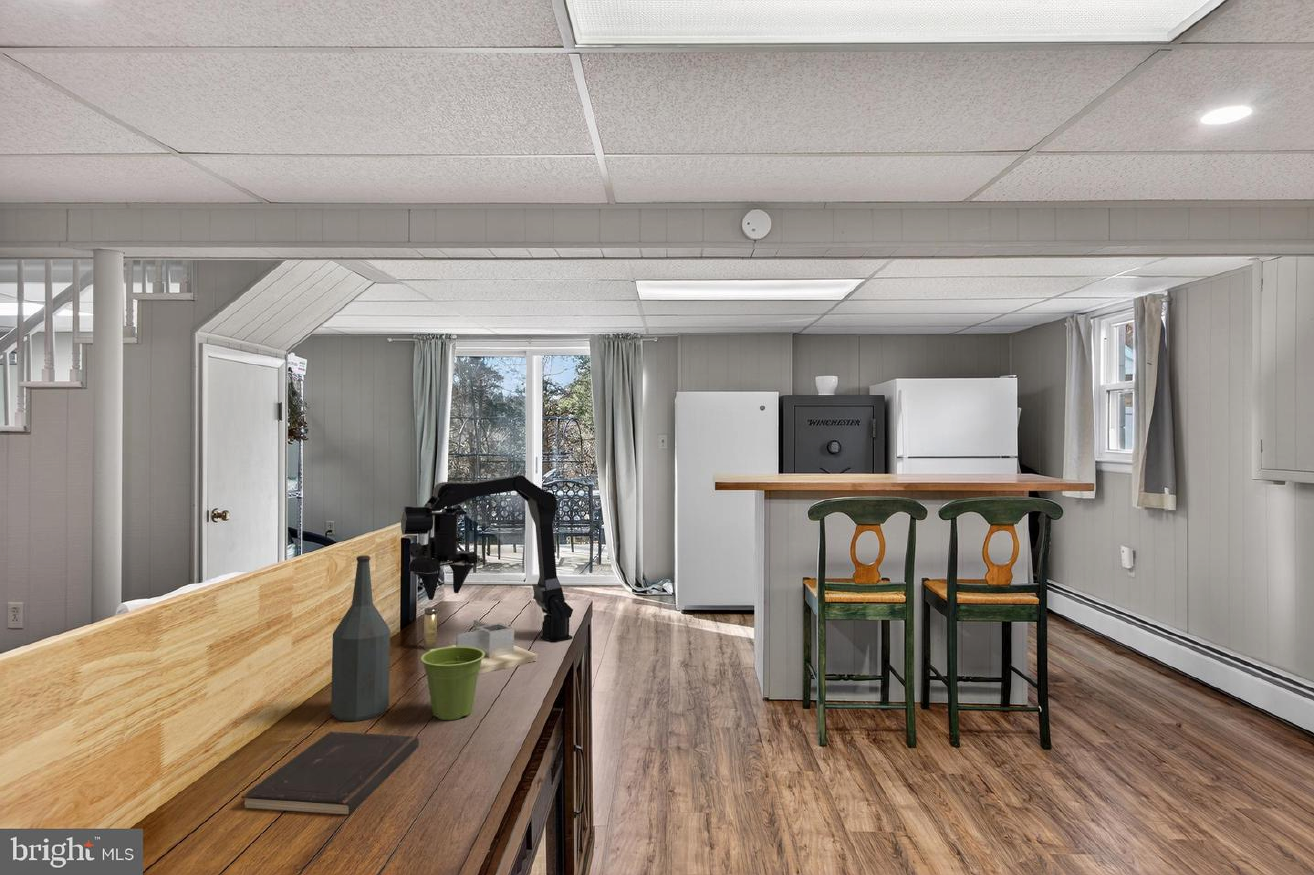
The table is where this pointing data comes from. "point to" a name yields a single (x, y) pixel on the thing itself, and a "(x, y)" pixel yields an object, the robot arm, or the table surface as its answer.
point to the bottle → (360, 655)
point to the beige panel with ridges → (494, 646)
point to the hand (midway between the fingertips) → (443, 596)
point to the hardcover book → (333, 773)
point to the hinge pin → (430, 628)
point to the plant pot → (452, 680)
